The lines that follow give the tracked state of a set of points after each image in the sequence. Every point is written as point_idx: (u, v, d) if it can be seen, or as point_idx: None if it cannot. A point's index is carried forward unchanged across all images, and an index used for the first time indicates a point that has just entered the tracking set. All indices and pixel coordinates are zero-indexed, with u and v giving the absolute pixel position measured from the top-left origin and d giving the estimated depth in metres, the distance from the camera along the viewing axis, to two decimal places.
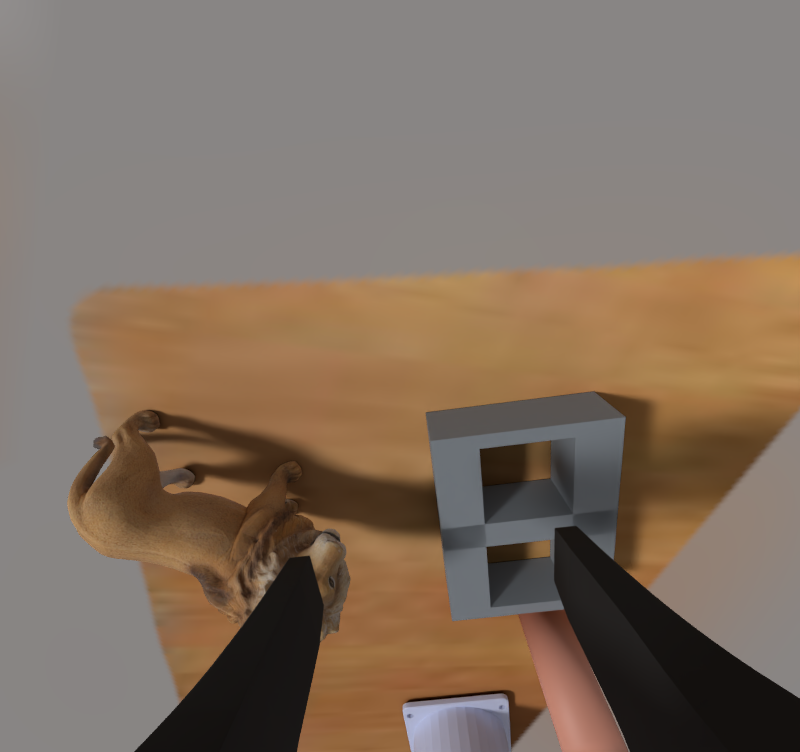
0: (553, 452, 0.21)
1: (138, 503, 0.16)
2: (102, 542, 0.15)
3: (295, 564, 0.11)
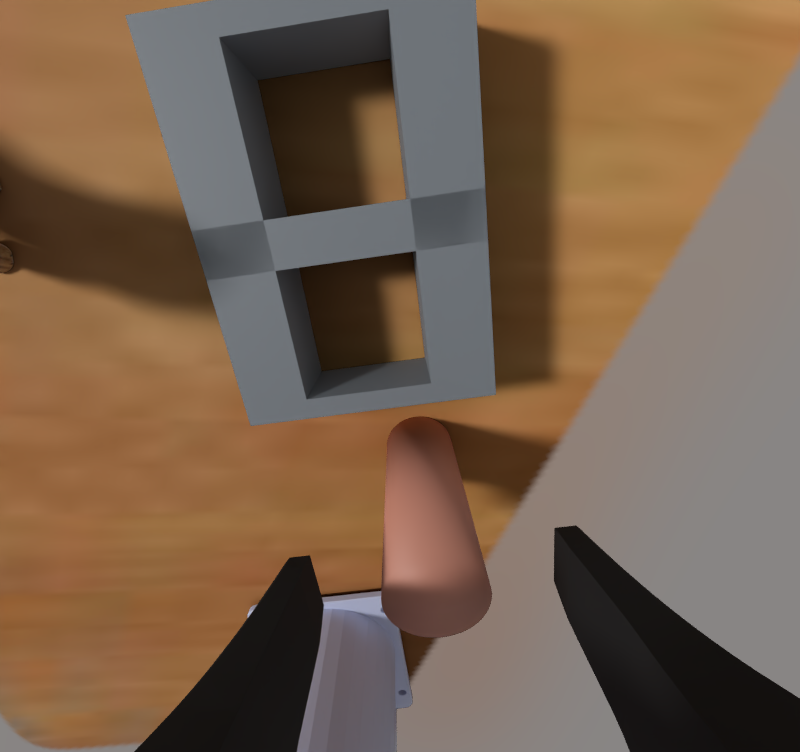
0: (400, 140, 0.13)
1: None
2: None
3: (296, 564, 0.11)
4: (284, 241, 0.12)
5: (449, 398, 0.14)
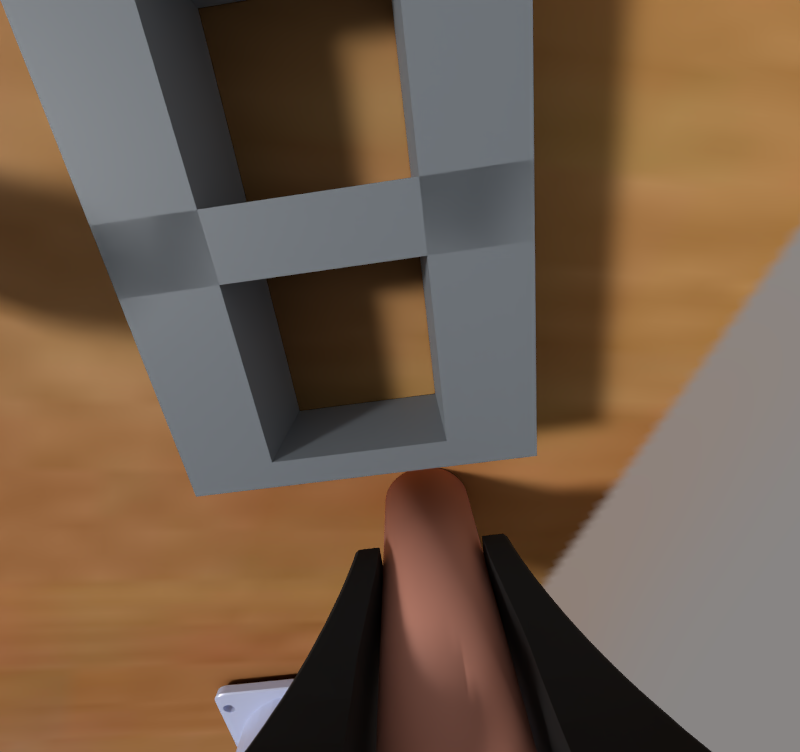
0: (403, 97, 0.09)
1: None
2: None
3: (368, 556, 0.11)
4: (230, 241, 0.08)
5: (471, 460, 0.10)
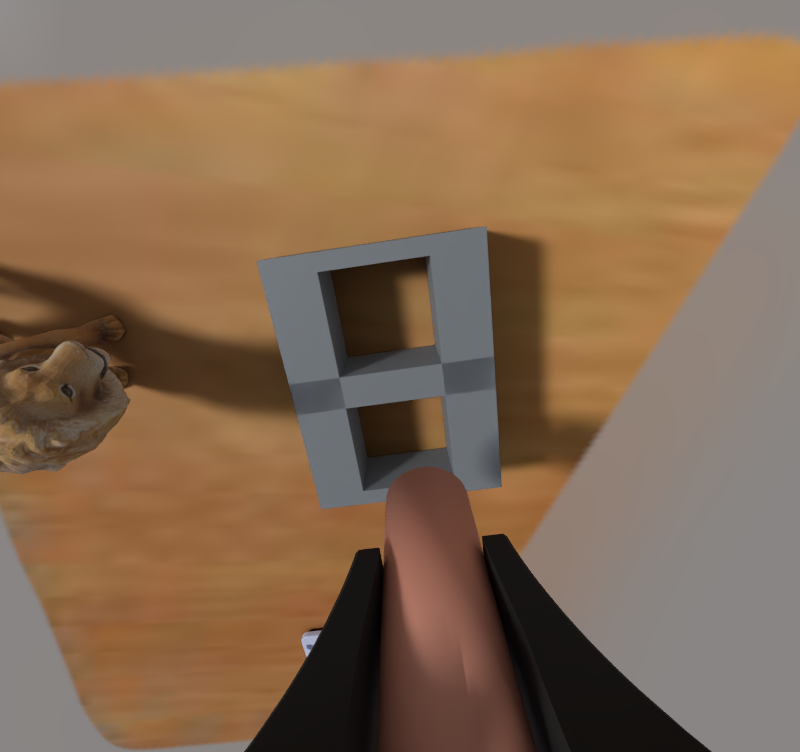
0: (431, 306, 0.18)
1: None
2: None
3: (368, 556, 0.11)
4: (353, 390, 0.17)
5: (467, 489, 0.19)
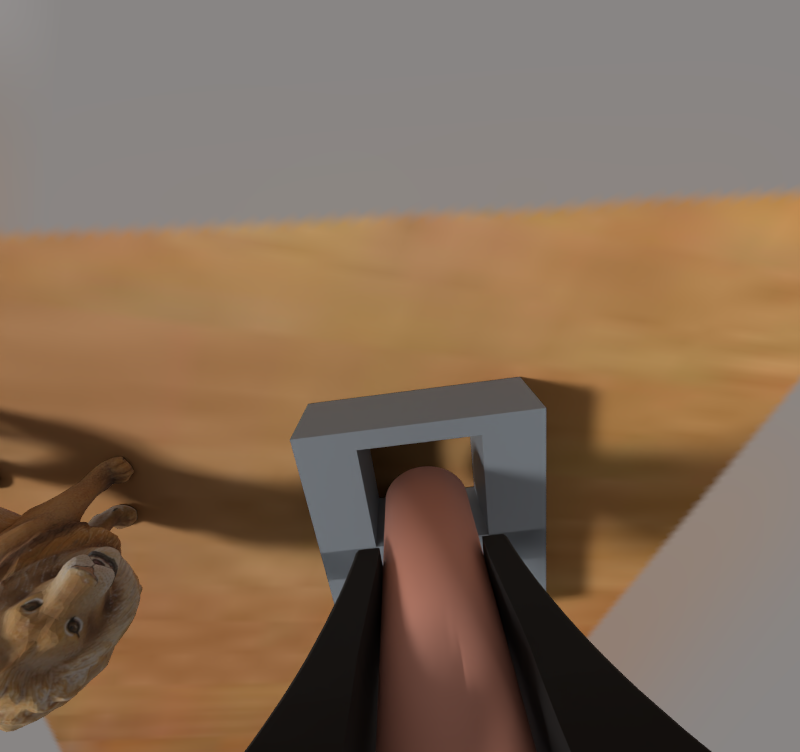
0: (473, 454, 0.17)
1: None
2: None
3: (368, 556, 0.11)
4: None
5: None
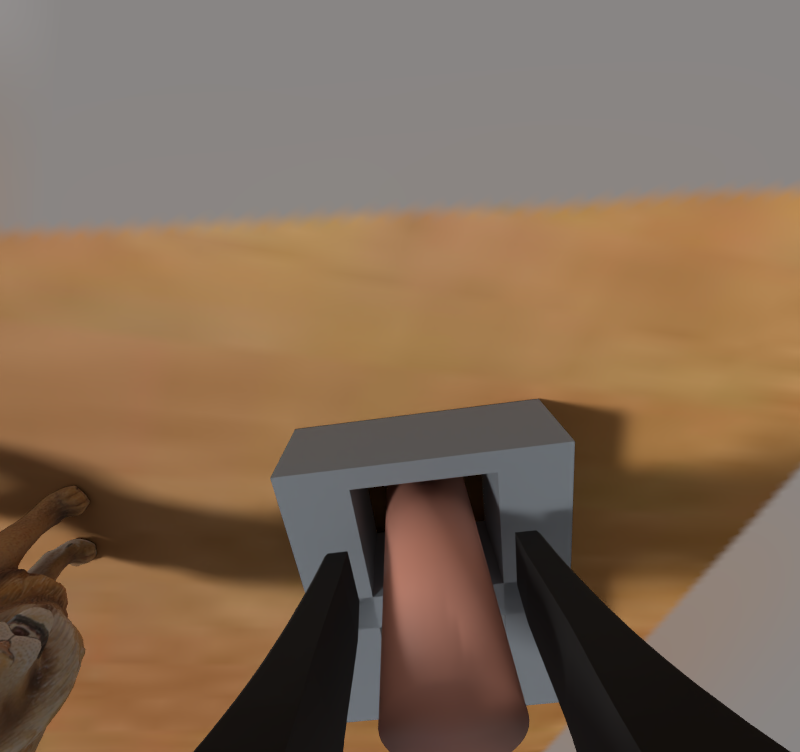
0: (484, 486, 0.15)
1: None
2: None
3: (334, 560, 0.11)
4: None
5: None
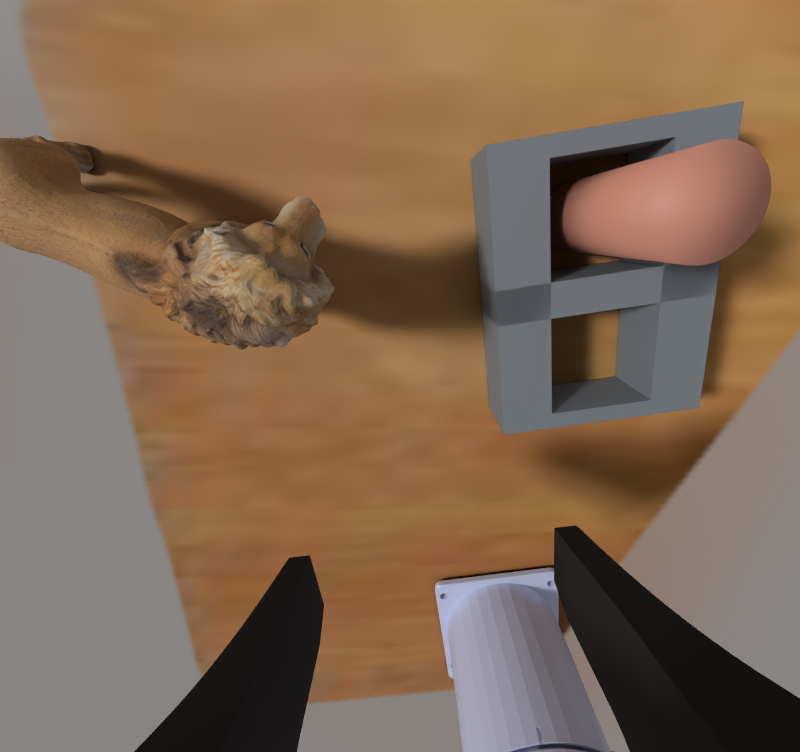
0: None
1: (37, 166, 0.12)
2: None
3: (295, 564, 0.11)
4: (562, 297, 0.16)
5: (662, 411, 0.18)
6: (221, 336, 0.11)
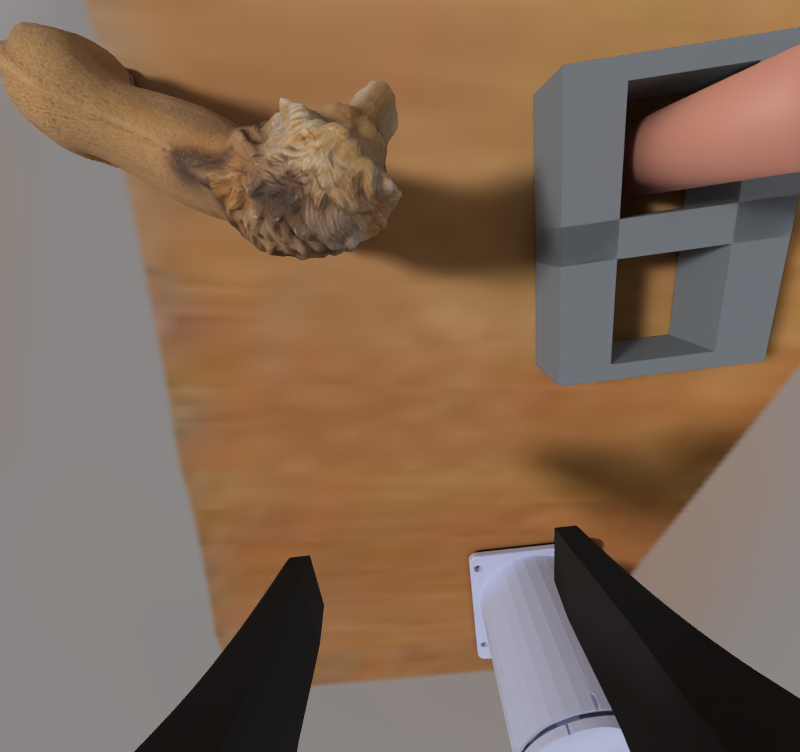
0: None
1: (92, 55, 0.11)
2: (37, 81, 0.10)
3: (296, 564, 0.11)
4: (631, 236, 0.15)
5: (726, 363, 0.17)
6: (288, 231, 0.10)
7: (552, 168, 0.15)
